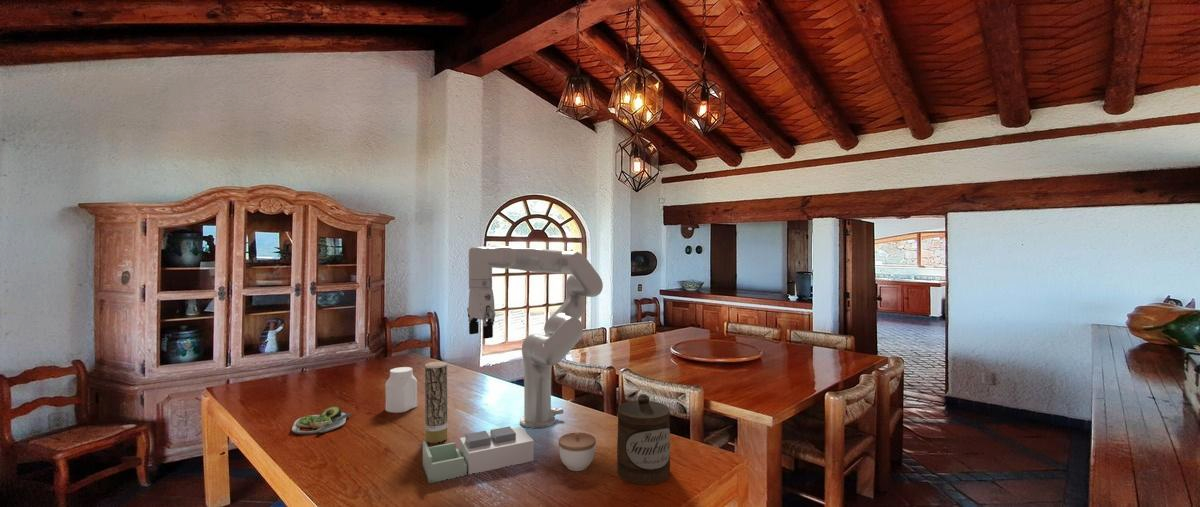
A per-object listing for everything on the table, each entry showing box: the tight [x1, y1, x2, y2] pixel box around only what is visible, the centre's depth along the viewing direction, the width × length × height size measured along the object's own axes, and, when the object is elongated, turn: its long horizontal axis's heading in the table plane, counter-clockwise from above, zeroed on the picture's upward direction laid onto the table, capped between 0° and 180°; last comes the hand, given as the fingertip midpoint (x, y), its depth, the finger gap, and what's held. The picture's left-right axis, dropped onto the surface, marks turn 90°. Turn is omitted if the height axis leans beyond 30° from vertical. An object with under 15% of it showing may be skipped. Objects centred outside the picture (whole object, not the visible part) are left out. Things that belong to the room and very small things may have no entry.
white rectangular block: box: [459, 426, 535, 475], centre depth 143 cm, size 19×12×6 cm, turn 118°
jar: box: [384, 366, 418, 414], centre depth 189 cm, size 12×10×15 cm
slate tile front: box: [464, 430, 491, 449], centre depth 141 cm, size 6×6×2 cm
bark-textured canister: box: [424, 361, 448, 444], centre depth 157 cm, size 7×7×25 cm
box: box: [422, 440, 468, 484], centre depth 136 cm, size 10×12×7 cm
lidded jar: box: [558, 432, 597, 472], centre depth 139 cm, size 11×11×9 cm
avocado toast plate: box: [291, 406, 352, 436], centre depth 169 cm, size 19×18×5 cm
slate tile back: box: [489, 425, 516, 444], centre depth 144 cm, size 6×6×2 cm
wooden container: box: [616, 393, 671, 486], centre depth 135 cm, size 15×15×22 cm
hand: (480, 335), depth 159 cm, fingers open, 9 cm apart
